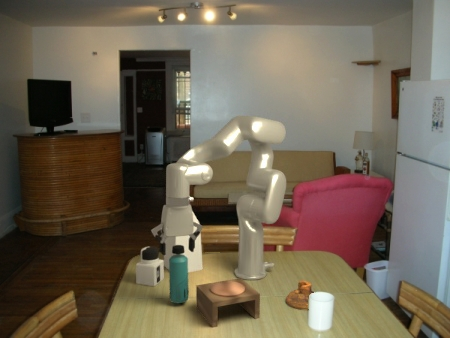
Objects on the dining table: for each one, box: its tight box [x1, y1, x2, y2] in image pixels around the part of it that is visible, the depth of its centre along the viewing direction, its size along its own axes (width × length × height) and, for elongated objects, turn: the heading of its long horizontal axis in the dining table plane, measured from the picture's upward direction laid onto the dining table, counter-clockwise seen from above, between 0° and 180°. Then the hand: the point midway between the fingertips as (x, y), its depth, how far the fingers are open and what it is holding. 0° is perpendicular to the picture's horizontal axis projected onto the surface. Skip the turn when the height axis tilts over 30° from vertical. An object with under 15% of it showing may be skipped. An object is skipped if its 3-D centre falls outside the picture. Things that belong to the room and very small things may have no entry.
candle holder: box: [285, 280, 315, 310], centre depth 161 cm, size 12×12×7 cm
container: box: [135, 246, 165, 287], centre depth 178 cm, size 8×8×13 cm
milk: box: [163, 210, 204, 273], centre depth 191 cm, size 12×12×26 cm
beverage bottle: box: [168, 245, 190, 304], centre depth 159 cm, size 6×7×20 cm
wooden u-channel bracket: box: [195, 277, 261, 328], centre depth 153 cm, size 16×14×9 cm
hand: (177, 252), depth 157 cm, fingers open, 9 cm apart
